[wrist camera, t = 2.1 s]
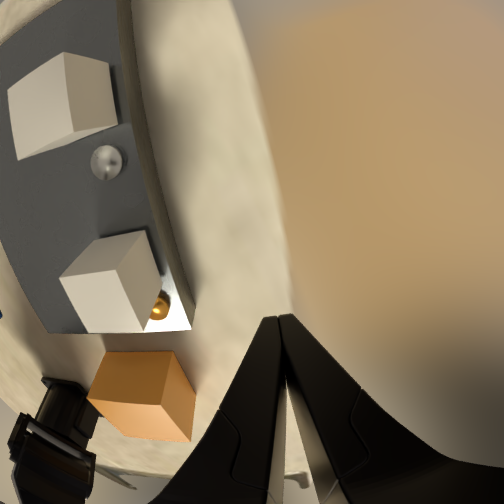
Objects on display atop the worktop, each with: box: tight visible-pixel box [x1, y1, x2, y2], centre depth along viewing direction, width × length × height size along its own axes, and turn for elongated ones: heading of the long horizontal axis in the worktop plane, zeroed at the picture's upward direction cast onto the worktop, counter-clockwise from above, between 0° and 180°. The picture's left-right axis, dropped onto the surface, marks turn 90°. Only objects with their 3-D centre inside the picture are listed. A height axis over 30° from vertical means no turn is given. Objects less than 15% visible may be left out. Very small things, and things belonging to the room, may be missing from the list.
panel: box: [0, 0, 196, 334], centre depth 12 cm, size 12×20×2 cm, turn 8°
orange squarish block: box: [87, 351, 196, 442], centre depth 18 cm, size 6×6×5 cm
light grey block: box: [59, 230, 163, 333], centre depth 11 cm, size 3×3×4 cm
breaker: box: [7, 52, 118, 161], centre depth 8 cm, size 3×3×4 cm
